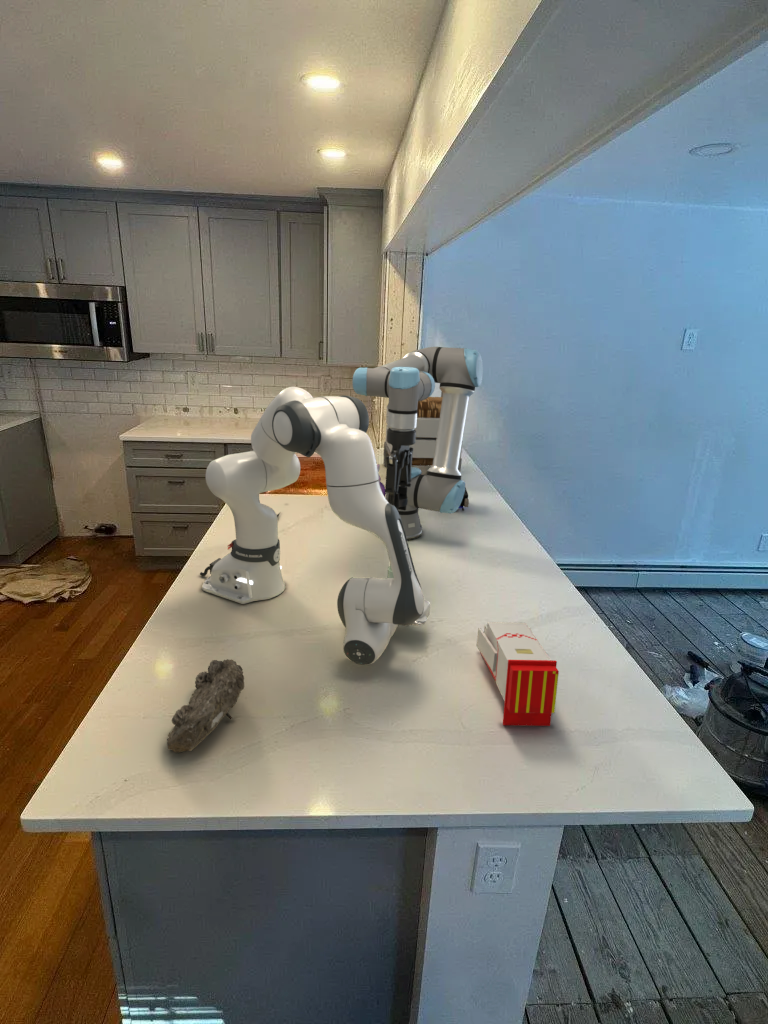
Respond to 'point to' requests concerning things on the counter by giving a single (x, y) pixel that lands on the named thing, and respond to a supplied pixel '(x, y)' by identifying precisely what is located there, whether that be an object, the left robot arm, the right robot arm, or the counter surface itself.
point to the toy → (520, 672)
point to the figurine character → (464, 500)
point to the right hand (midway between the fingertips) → (397, 512)
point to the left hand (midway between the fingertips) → (396, 591)
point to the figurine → (381, 483)
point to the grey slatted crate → (423, 433)
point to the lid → (402, 500)
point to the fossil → (206, 705)
